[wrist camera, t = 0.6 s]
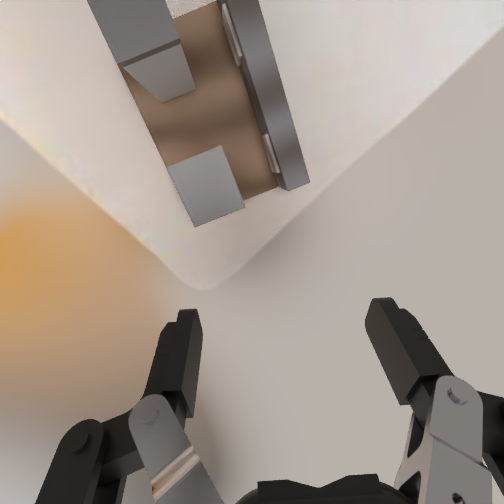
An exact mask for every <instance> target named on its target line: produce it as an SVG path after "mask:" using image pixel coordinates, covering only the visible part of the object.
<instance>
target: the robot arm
mask: <svg viewBox="0 0 504 504" xmlns="http://www.w3.org/2000/svg"><path fill="white" fill-rule="evenodd" d="M365 328H366V332H367V334H368V336H369V338H370V341H371V343H372V345H373V347H374V349H375V351H376V354H377V356H378V358H379V360H380V362H381V365H382V367H383V369H384V371H385V373H386V376H387V378H388V380H389V382H390V384H391V387H392V389H393V391H394V393H395V395H396V397H397V400H398V402H399V404H400V405H411V407H412V409H413V411H414V412H413V413H412V417H411V422H410V426H409V431H408V437H407V442H406V446H405V451H404V456H403V460H402V463H401V465H400V467H399V470H398V472H397V475H396V479H395V482H394V487H391V486H390V485H387V484H385V483H382V482H379V478H378V475H377V474H364V475H349V476H346V477H344V478H342V479H339V480H337V481H334V482H332V483H330V484H328V485H326V486H323V487H321V488H316V487H312V486H309V485H305V484H301V483H298V482H294V481H290V480H274V481H260V482H258V488H257V489H255V490H253V491H251V492H249V493H248V494H246V495H245V496H244V497H242V498H241V499H240V500H239V501H238V502H237V503H236V504H492V477H491V474H492V476H493V477H494V479H495V481H496V483H497V485H498V487H499V488H500V490H501V492H502V494H503V496H504V398H503V397H499V396H495V395H490V394H486V393H482V392H479V391H476V390H475V389H474V388H473V387H472V386H471V385H470V384H468V383H467V382H465V381H464V380H462V379H460V378H457V377H455V376H454V375H453V373H452V372H451V370H450V369H449V368H448V366H447V364H446V363H445V362H444V360H443V358H442V357H441V355H440V354H439V352H438V351H437V349H436V348H435V346H434V345H433V343H432V342H431V340H430V339H428V336H427V334H426V333H425V331H424V330H422V327H421V325H420V324H419V322H418V321H417V319H416V318H415V317H414V316H413V315H412V314H411V313H409V312H408V311H407V310H406V309H399V307H398V306H397V304H396V303H395V301H394V300H393V299H392V298H389V297H388V298H374V299H372V301H371V304H370V307H369V310H368V313H367V316H366V319H365ZM202 338H203V333H202V327H201V323H200V319H199V315H198V311H197V309H183V310H179V313H178V317H177V321H176V322H168V323H167V325H166V326H165V327H164V329H163V330H162V332H161V333H160V337H159V341H158V346H157V348H156V352H155V356H154V359H153V363H152V366H151V370H150V374H149V377H148V381H147V385H146V388H145V391H144V394H143V396H142V398H141V399H140V401H139V402H138V403H137V404H136V405H135V406H134V407H133V408H132V409H131V410H129V411H128V412H126V413H124V414H122V415H120V416H117V417H115V418H112V419H110V420H108V421H105V422H102V423H100V422H98V421H97V420H94V419H87V420H84V421H81V422H79V423H77V424H76V425H75V426H73V427H72V428H71V429H70V430H69V431H68V432H67V433H66V434H65V435H64V437H63V438H62V440H61V441H60V443H59V445H58V448H57V450H56V453H55V455H54V458H53V461H52V463H51V466H50V468H49V470H48V473H47V475H46V478H45V480H44V483H43V485H42V488H41V490H40V493H39V495H38V498H37V500H36V503H35V504H121V502H122V497H123V492H124V488H125V483H126V478H127V475H129V474H131V473H133V472H135V471H137V470H140V469H142V468H144V467H145V469H146V471H147V474H148V476H149V478H150V481H151V484H152V492H153V497H154V499H155V502H156V504H224V502H223V501H222V499H221V497H220V495H219V493H218V492H217V490H216V488H215V486H214V484H213V482H212V481H211V479H210V477H209V475H208V473H207V472H206V470H205V468H204V466H203V464H202V463H201V461H200V459H199V457H198V455H197V453H196V452H195V450H194V448H193V446H192V445H191V443H190V441H189V439H188V437H187V436H186V434H185V432H184V427H185V420H186V418H193V416H194V408H195V399H196V391H197V383H198V375H199V366H200V357H201V350H202V340H203V339H202ZM482 457H483V459H484V461H485V463H486V465H487V467H488V468H489V469H488V468H487V467H486V466H484V464H483V462H482ZM490 472H491V473H490Z"/></svg>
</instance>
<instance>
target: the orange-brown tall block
mask: <svg viewBox="0 0 504 504" xmlns="http://www.w3.org/2000/svg"><path fill="white" fill-rule="evenodd" d="M166 168H167V170H168V172H169V174H170V176H171V179H172V181H173V183H174V185H175V187H176V189H177V191H178V193H179V195H180V197H181V200H182V202H183V204H184V206H185V208H186V210H187V212H188V214H189V216H190V219H191V221H192V223H193V225H194V227H197V226H200V225H202V224H205V223H207V222H210V221H212V220H215V219H217V218H220V217H222V216H225V215H227V214H230V213H232V212H235V211H237V210H240V209H242V208H245V205H244V202H243V200H242V197H241V194H240V192H239V189H238V187H237V184H236V182H235V179H234V176H233V174H232V171H231V169H230V166H229V164H228V161H227V158H226V156H225V153H224V151H223V148H222V146H218V147H216V148H213V149H211V150H208V151H206V152H203V153H201V154H198V155H196V156H193V157H191V158H189V159H186V160H184V161H181V162H179V163H176V164H174V165H171V166H169V167H166Z"/></svg>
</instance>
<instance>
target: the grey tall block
mask: <svg viewBox="0 0 504 504" xmlns="http://www.w3.org/2000/svg"><path fill="white" fill-rule="evenodd" d="M87 2H88V4H89V6H90V8H91V10H92V12H93V14H94V16H95V19H96V21H97V23H98V25H99V27H100V29H101V31H102V33H103V35H104V37H105V40H106V42H107V44H108V46H109V48H110V50H111V52H112V54H113V56H114V59H115V61H116V63H117V64H118V65H119V66H120V67H121V68H124V69H125V70H126V71H127V72H128V73H129V74H130V75H131V76H132V77H133V78H134V79H136V80H137V81H138V82H139V83H140V84H141V85H142V86H143V87H144V88H145V89H146V90H147V91H149V92H150V93H151V94H152V95H153V96H154V97H155V98H156V99H157V100H158V101H159V102H160V103H163V102H166V101H168V100H171V99H173V98H176V97H178V96H180V95H183V94H185V93H188V92H190V91H193V90H195V89H196V86H195V83H194V81H193V78H192V75H191V72H190V69H189V66H188V63H187V60H186V57H185V55H184V52H183V49H182V46H181V40H180V38H179V35H178V32H177V30H176V27H175V25H174V22H173V20H172V17H171V14H170V12H169V9H168V7H167V4H166V2H165V0H87Z"/></svg>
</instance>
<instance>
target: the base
mask: <svg viewBox="0 0 504 504" xmlns="http://www.w3.org/2000/svg"><path fill="white" fill-rule="evenodd" d="M172 20H173V22H174V25H175V27H176V30H177V32H178V35H179V38H180V40H181V46H182V49H183V52H184V55H185V57H186V60H187V63H188V66H189V69H190V72H191V75H192V78H193V81H194V83H195V86H196V89H195V90H193V91H190V92H188V93H185V94H183V95H180V96H178V97H176V98H173V99H171V100H168V101H166V102H163V103H160V102H159V101H158V100H157V99H156V98H155V97H154V96H153V95H152V94H151V93H150V92H149V91H147V90H146V89H145V88H144V87H143V86H142V85H141V84H140V83H139V82H138V81H137V80H136V79H134V78H133V77H132V76H131V75H130V74H129V73H128V72H127V71H126V70H125V69H124V68H121V67H120V66H119V65H118V64H117V65H118V67H119V69H120V71H121V73H122V75H123V77H124V79H125V81H126V83H127V86H128V88H129V90H130V92H131V94H132V96H133V98H134V100H135V102H136V105H137V107H138V109H139V111H140V113H141V115H142V117H143V119H144V121H145V123H146V126H147V128H148V130H149V132H150V134H151V136H152V138H153V140H154V142H155V145H156V147H157V149H158V151H159V153H160V155H161V157H162V159H163V161H164V163H165V166H166V167H169V166H171V165H174V164H176V163H179V162H181V161H184V160H186V159H189V158H191V157H193V156H196V155H198V154H201V153H203V152H206V151H208V150H211V149H213V148H216V147H218V146H222V148H223V151H224V153H225V156H226V158H227V161H228V164H229V166H230V169H231V171H232V174H233V176H234V179H235V182H236V184H237V187H238V189H239V192H240V194H241V197H242V200H246V199H248V198H251V197H253V196H256V195H258V194H261V193H263V192H266V191H268V190H271V189H273V188H276V187H278V186H279V187H281V188H283V189H285V190H287V191H290V190H292V189H295V188H297V187H300V186H302V185H305V184H307V183H310V180H309V176H308V173H307V169H306V166H305V162H304V159H303V155H302V152H301V148H300V145H299V141H298V138H297V134H296V131H295V127H294V124H293V120H292V117H291V113H290V110H289V106H288V103H287V99H286V96H285V92H284V89H283V85H282V82H281V78H280V75H279V71H278V68H277V64H276V61H275V57H274V54H273V50H272V47H271V43H270V40H269V36H268V33H267V29H266V26H265V22H264V19H263V15H262V12H261V8H260V5H259V1H258V0H217V1H215V2H213V3H211V4H208V5H206V6H203V7H201V8H199V9H196V10H194V11H191V12H189V13H187V14H184V15H182V16H179V17H177V18H175V19H172Z"/></svg>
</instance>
